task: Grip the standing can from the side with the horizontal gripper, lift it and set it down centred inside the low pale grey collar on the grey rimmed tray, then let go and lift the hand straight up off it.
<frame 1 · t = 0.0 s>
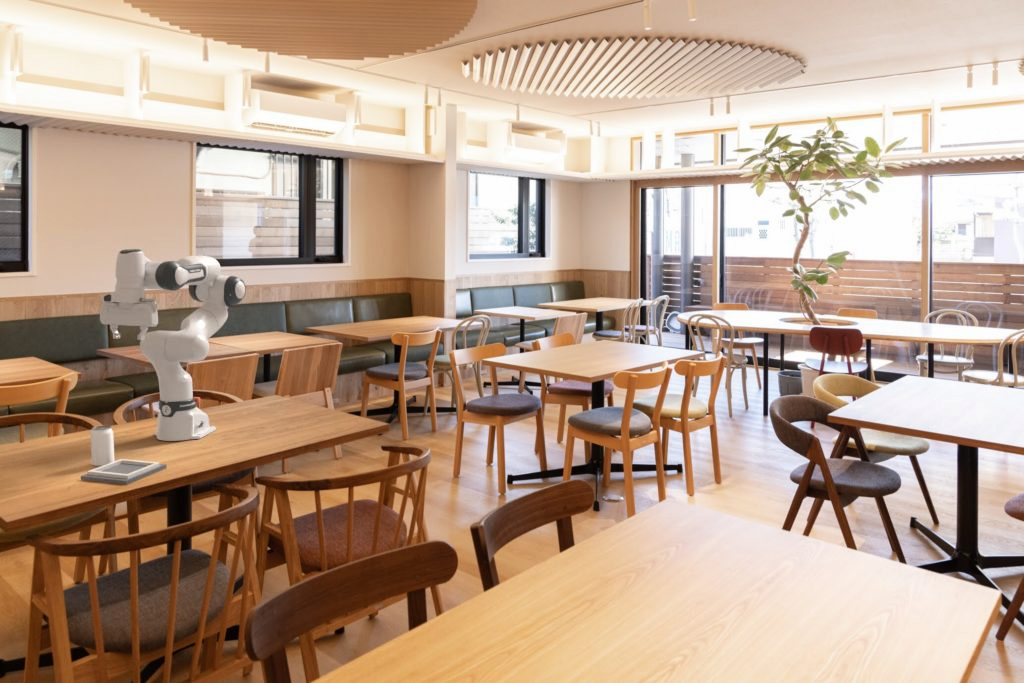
hand: (128, 339, 264), 39 cm above the table, tool pointing down, fingers open, 8 cm apart
grey rimmed tray: (124, 473, 246), on the table
can: (103, 464, 256), on the table
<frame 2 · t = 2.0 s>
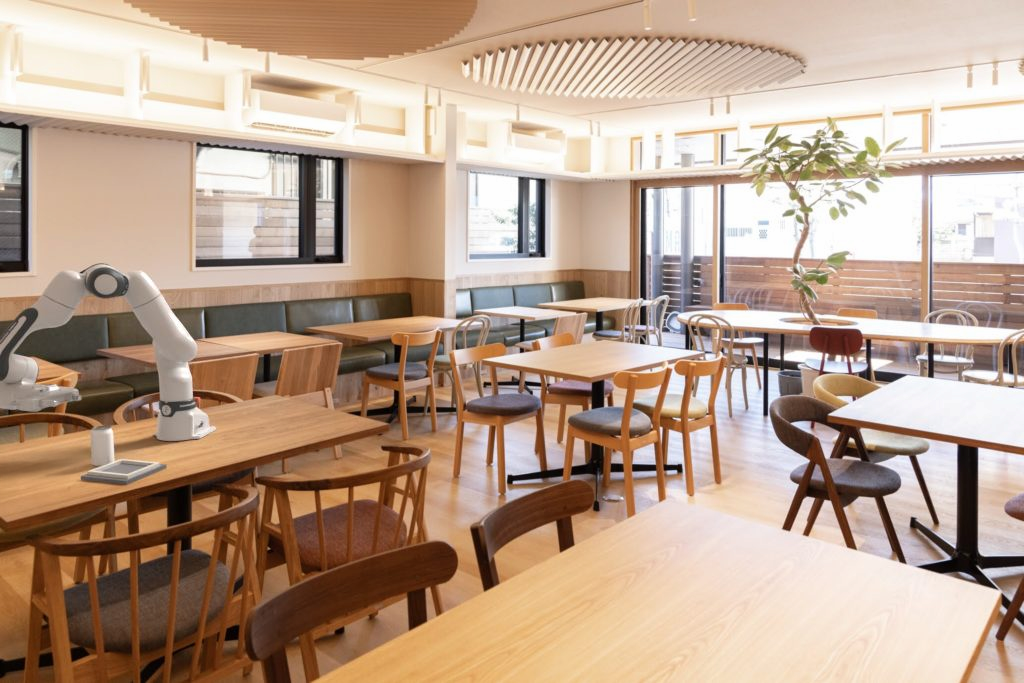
hand: (68, 400, 256), 20 cm above the table, tool horizontal, fingers open, 8 cm apart
nothing on the table moved.
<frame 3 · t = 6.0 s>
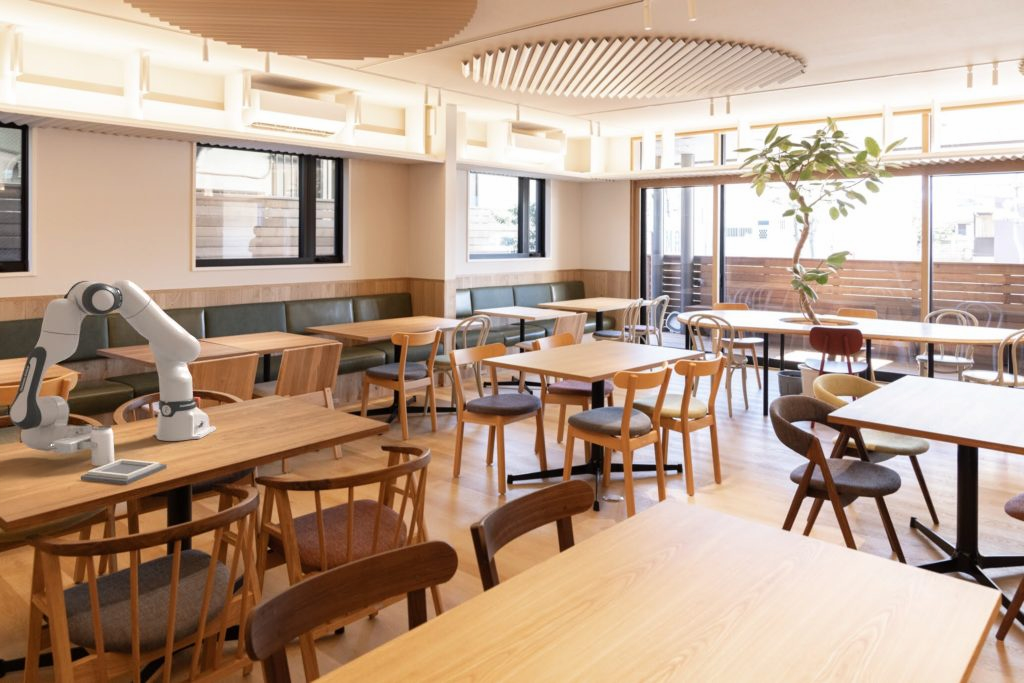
hand: (104, 442, 255), 7 cm above the table, tool horizontal, fingers open, 5 cm apart
can: (103, 464, 256), on the table, touching gripper
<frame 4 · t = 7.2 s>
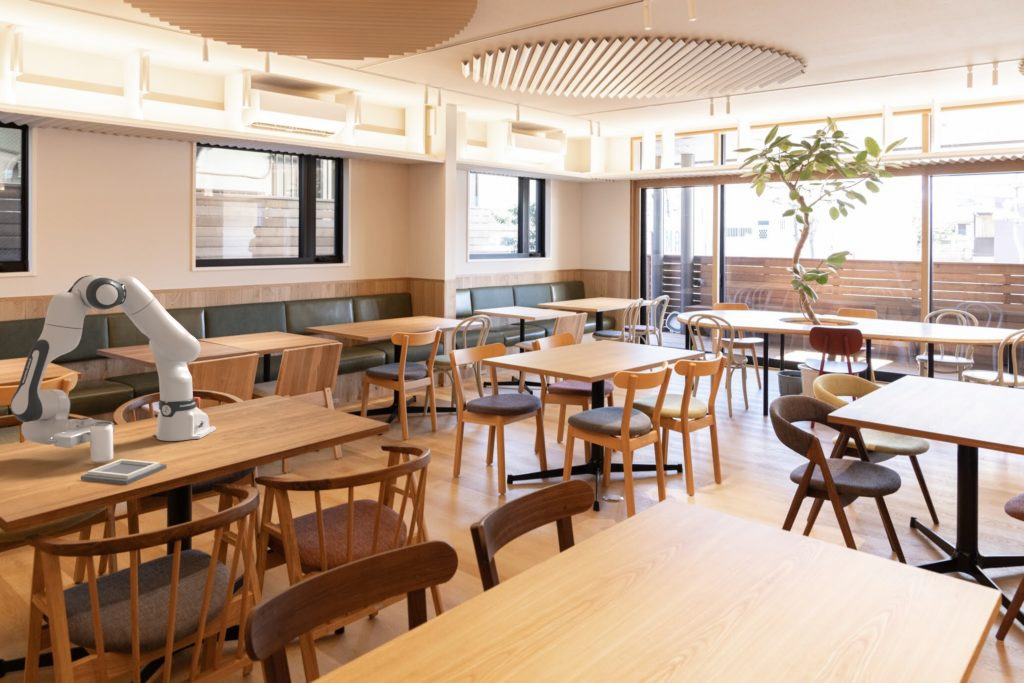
hand: (105, 436, 255), 9 cm above the table, tool horizontal, fingers closed on can, 4 cm apart
can: (102, 460, 256), point 1 cm above the table, touching gripper
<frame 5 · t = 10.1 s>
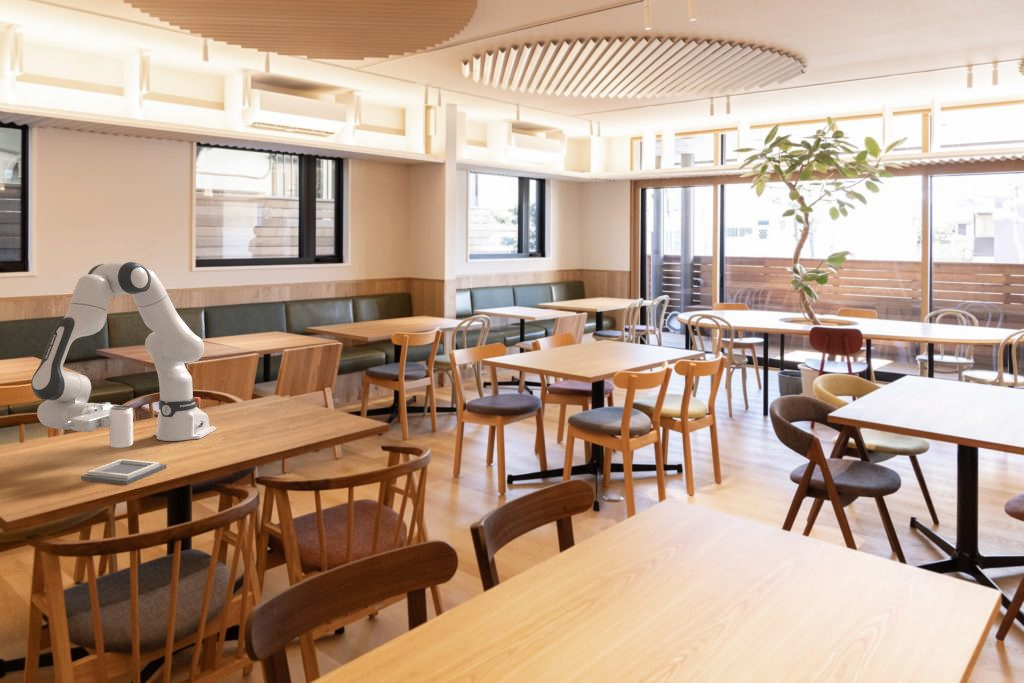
hand: (124, 420, 244), 17 cm above the table, tool horizontal, fingers closed on can, 4 cm apart
can: (121, 446, 244), point 9 cm above the table, touching gripper
when the fingers open (9 cm above the table, at t = 13.0 s): can stays where it is, resting on grey rimmed tray.
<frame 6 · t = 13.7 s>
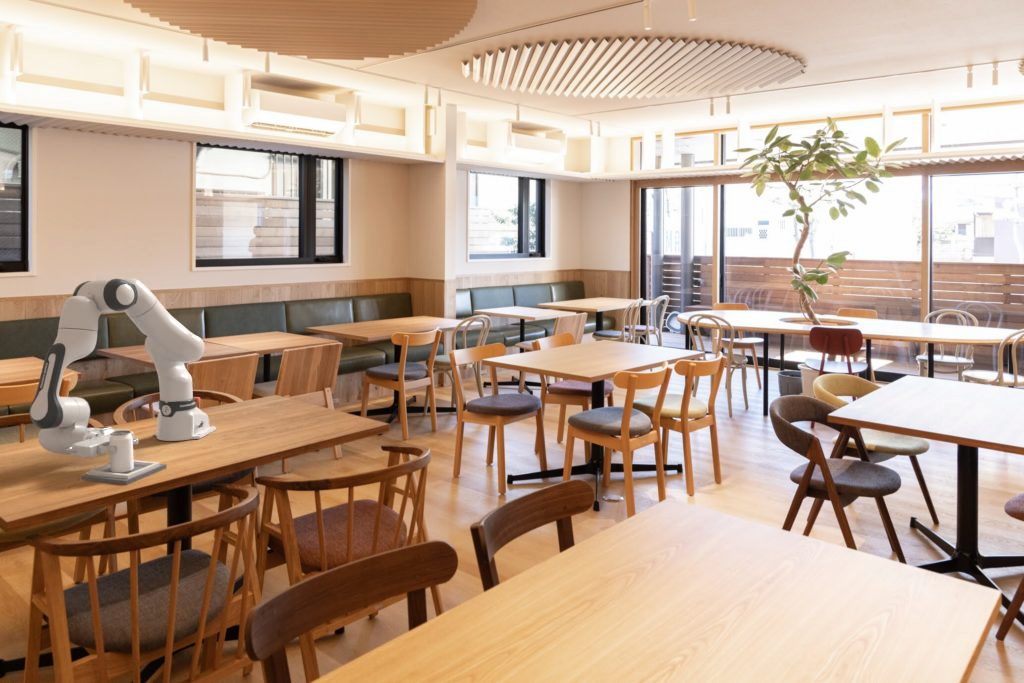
hand: (126, 445, 245), 9 cm above the table, tool horizontal, fingers open, 8 cm apart
can: (122, 471, 245), point 1 cm above the table, touching grey rimmed tray
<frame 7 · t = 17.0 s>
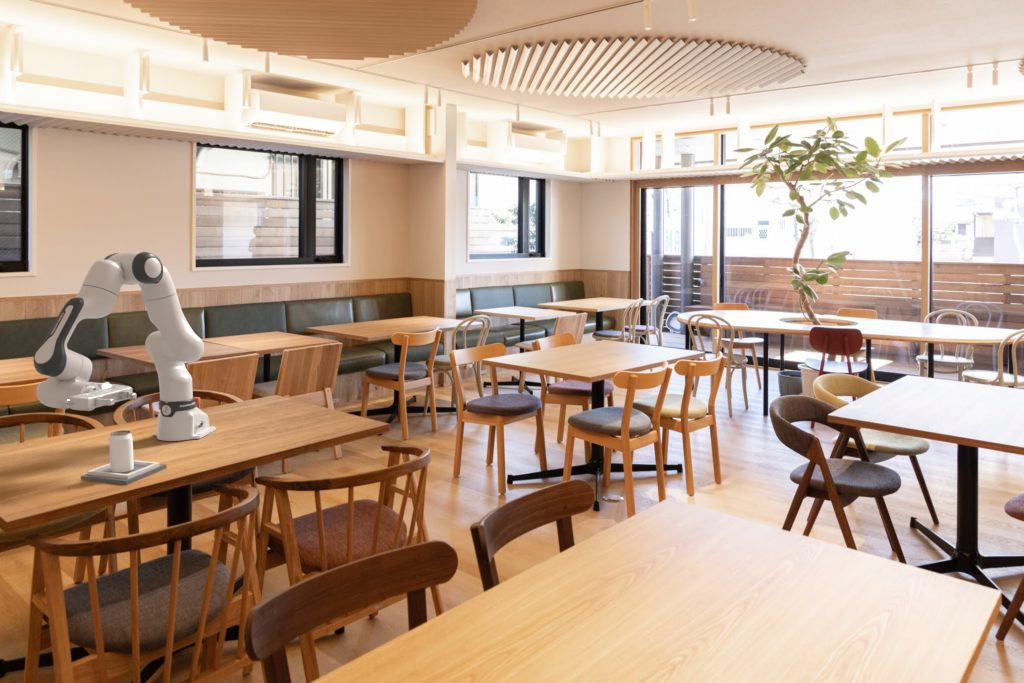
hand: (124, 399, 243), 24 cm above the table, tool horizontal, fingers open, 8 cm apart
nothing on the table moved.
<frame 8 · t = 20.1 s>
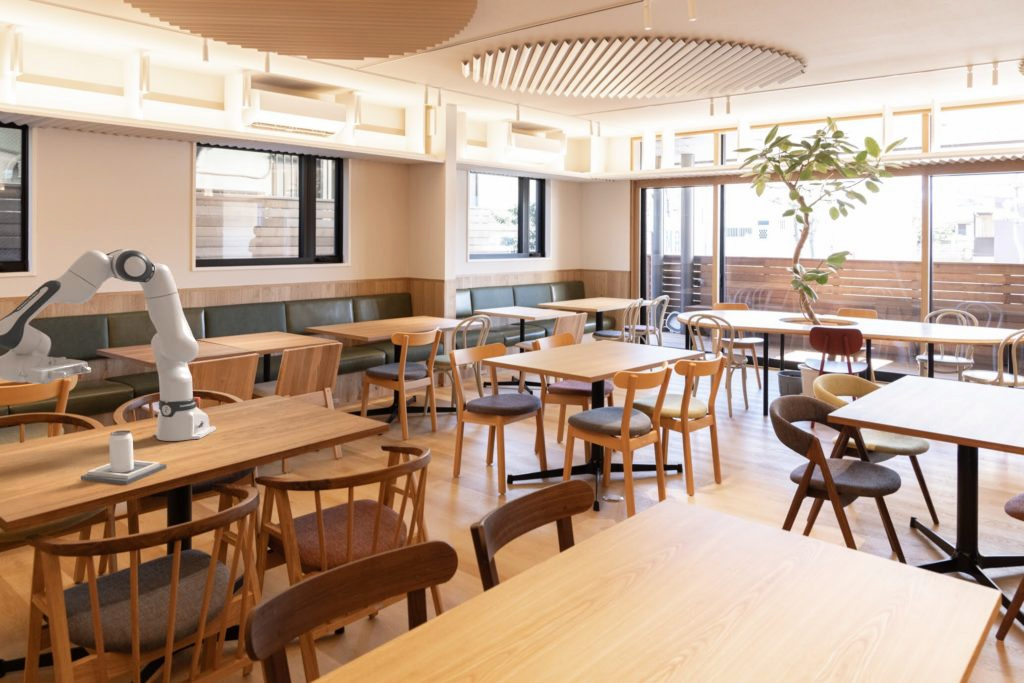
hand: (78, 372, 250), 30 cm above the table, tool horizontal, fingers open, 8 cm apart
nothing on the table moved.
at the end: can 0.8 cm off-centre on the grey rimmed tray, point 1.0 cm above the grey rimmed tray's base; can tilted 0°; the gripper is holding nothing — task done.
